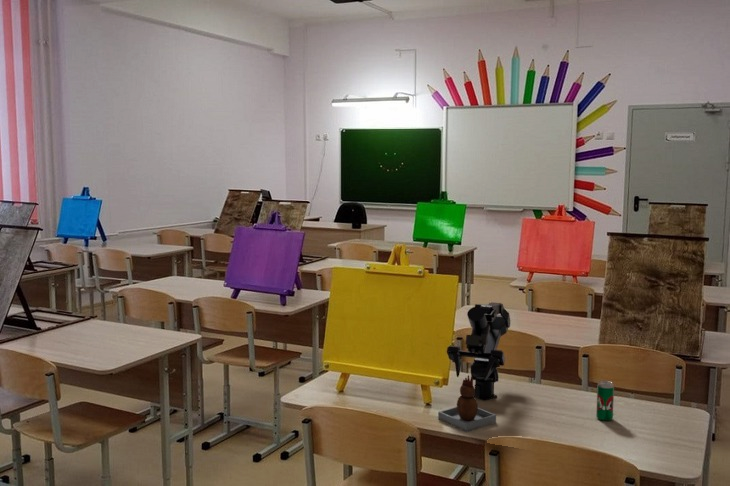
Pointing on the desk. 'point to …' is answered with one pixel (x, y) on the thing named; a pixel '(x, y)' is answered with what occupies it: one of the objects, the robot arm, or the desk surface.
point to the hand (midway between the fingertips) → (471, 378)
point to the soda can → (605, 400)
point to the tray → (455, 420)
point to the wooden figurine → (467, 400)
